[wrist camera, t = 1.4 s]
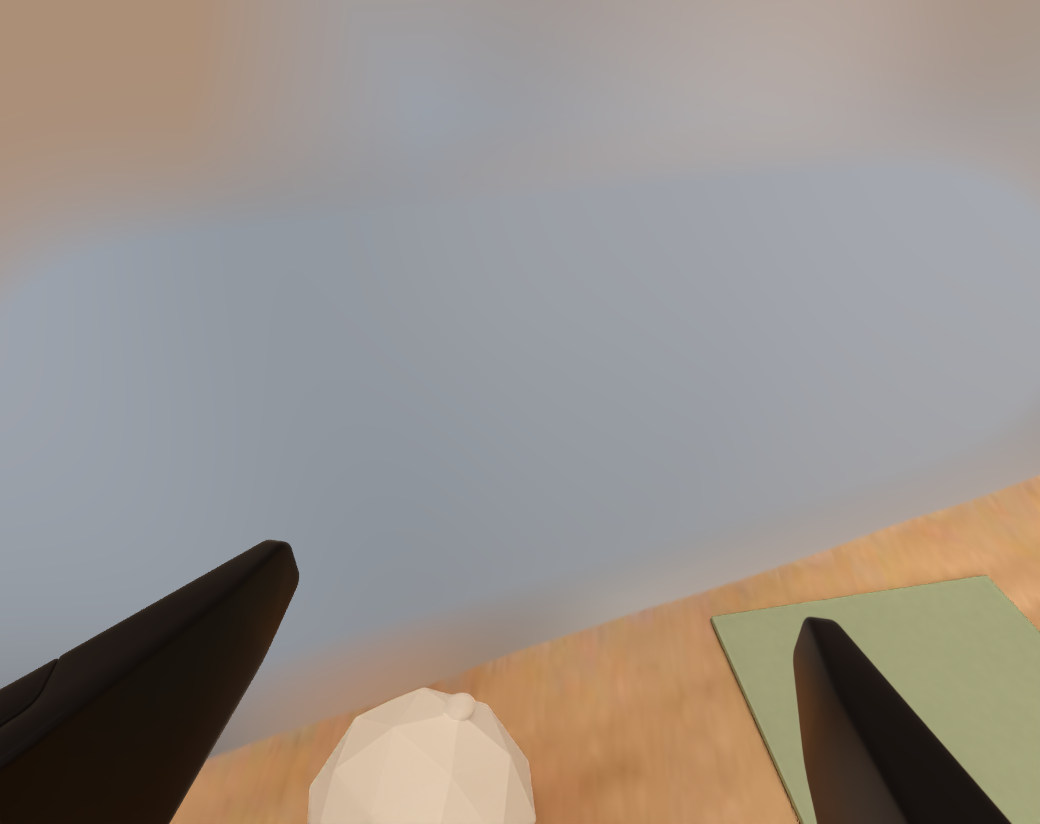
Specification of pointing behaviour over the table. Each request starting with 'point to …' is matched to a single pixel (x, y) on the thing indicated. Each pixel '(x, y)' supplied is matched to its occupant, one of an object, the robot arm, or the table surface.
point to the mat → (911, 679)
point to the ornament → (424, 767)
